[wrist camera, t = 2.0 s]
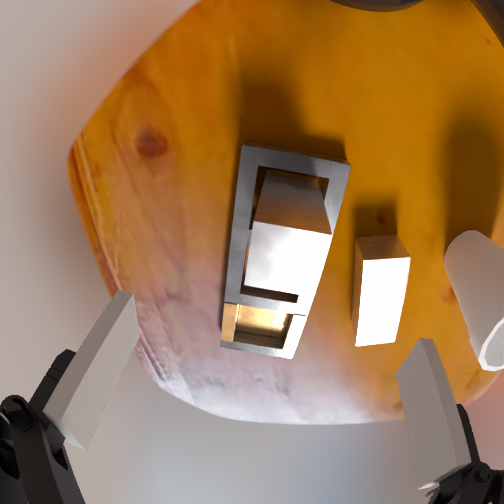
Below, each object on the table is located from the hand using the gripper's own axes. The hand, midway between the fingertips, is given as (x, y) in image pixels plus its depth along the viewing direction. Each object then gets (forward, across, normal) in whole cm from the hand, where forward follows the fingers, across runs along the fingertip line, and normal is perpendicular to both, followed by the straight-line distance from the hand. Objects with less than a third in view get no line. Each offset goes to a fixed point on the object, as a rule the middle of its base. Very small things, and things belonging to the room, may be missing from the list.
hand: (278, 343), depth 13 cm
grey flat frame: (+17, 0, -7) cm, 19 cm away
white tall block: (+17, 0, 0) cm, 17 cm away
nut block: (+18, +11, -7) cm, 22 cm away
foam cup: (+17, +22, -2) cm, 28 cm away
